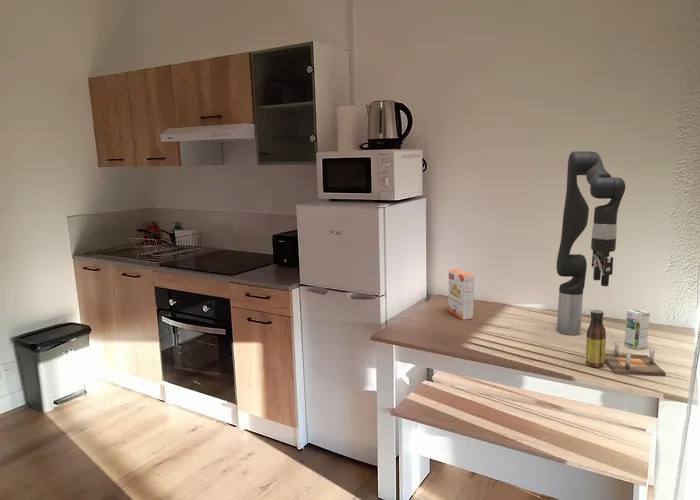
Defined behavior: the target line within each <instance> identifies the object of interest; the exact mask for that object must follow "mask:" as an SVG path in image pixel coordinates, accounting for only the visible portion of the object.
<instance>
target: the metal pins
mask: <svg viewBox="0 0 700 500" xmlns="http://www.w3.org/2000/svg"><path fill="white" fill-rule="evenodd" d="M619 350H620V342H614V350H613V351H614V352H613V354H614V356H615V357H618V354H620V353H619ZM655 353H656V350H655V349H652V348H651V349H649V356H648V357H649V364H654V362H655V361H654V360H655ZM630 354H631V353H630ZM630 354H629V353H626V363H625V369H630V359H631V355H630Z"/></svg>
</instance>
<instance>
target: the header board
mask: <svg viewBox="0 0 700 500" xmlns="http://www.w3.org/2000/svg"><path fill="white" fill-rule="evenodd" d="M626 354H627V353H626ZM626 354H625V353H618V357H615V356H614V353H609V352H608V353H606V352H605V362H604V363H605V364H606V365H607V367H608V368H609V369H610V370H611V371H612V372H613V374H614V375H630V376H632V375H633V376H635V375H636V376H650V377H651V376H652V377H653V376H654V377H666V375H667V372H665V371H664V370H663V369H662V367H660V366H659V365H658V364H657V363H656V362H655V361H654V364H649V357H650V356H649V355H647V354H632V353H630V355H631V359H630V369H625V363H626Z"/></svg>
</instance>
